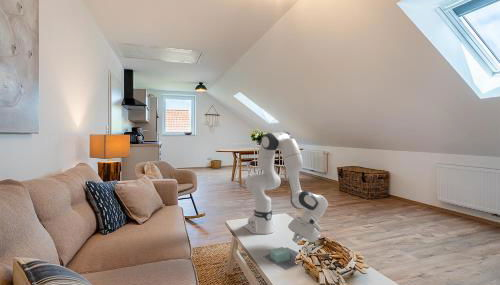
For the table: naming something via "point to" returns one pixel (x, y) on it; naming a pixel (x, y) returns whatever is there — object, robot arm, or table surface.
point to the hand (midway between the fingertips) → (294, 241)
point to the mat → (287, 263)
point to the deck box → (279, 254)
